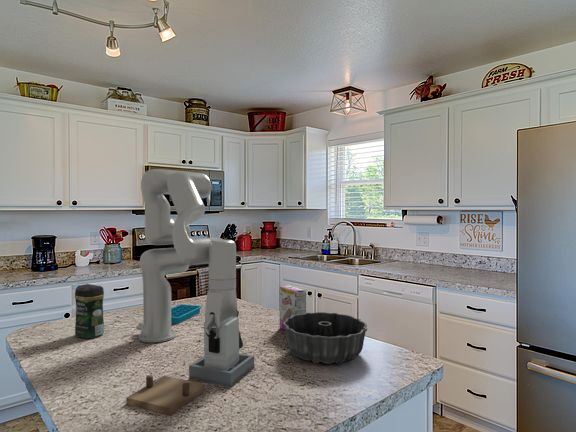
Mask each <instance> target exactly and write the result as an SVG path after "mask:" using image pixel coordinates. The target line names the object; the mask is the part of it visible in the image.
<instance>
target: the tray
mask: <svg viewBox="0 0 576 432" xmlns="http://www.w3.org/2000/svg"><path fill="white" fill-rule="evenodd" d="M253 369H255V355H252V354H245V353H240V352H239V362H238V363H237V364H235V365H234V366H233V367H232V368H230V369H229V370H228V371H226V370H220V369H215V368H209V367H205V363H204V356H202V357H201V358H199V359H197V360H196V361H194V362H193V363H191V364H189V365H188V379H190V380H194V381H200V382H205V383H209V384H210V383H211V384H214V385H220V386H224V387H228V388H229V387H230V388H231V387H232V386H234V385H235V384H237V383H238V382H239V381H240V380H241V379H243V378H244V377H245V376H246V375H248V374H249V373H250V372H251V371H252V370H253Z"/></svg>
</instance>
